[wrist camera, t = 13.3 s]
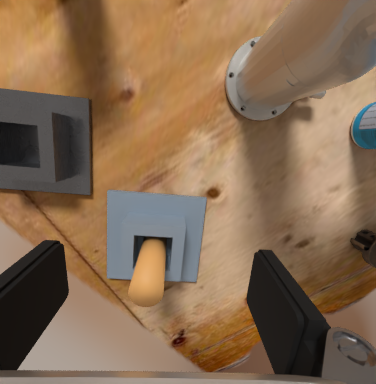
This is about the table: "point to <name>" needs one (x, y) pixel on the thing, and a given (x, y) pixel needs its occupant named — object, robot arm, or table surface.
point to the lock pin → (149, 272)
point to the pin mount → (45, 142)
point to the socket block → (154, 231)
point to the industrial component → (366, 245)
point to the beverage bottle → (365, 127)
